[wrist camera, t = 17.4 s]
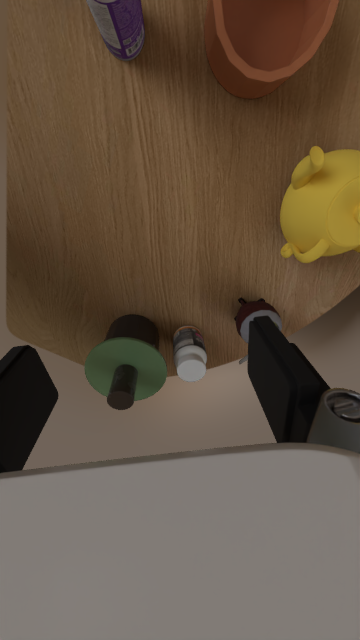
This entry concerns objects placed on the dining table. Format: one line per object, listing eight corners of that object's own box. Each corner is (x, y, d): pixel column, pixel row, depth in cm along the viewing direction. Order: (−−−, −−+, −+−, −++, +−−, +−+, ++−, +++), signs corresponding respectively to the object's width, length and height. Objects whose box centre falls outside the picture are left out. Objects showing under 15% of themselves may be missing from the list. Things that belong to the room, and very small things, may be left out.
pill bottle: (206, 341, 47) (215, 376, 39) (180, 352, 48) (183, 389, 40) (194, 319, 45) (201, 352, 36) (167, 331, 46) (167, 366, 37)
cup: (97, 332, 45) (83, 364, 37) (135, 304, 43) (128, 331, 35) (132, 363, 49) (125, 397, 41) (169, 339, 47) (169, 370, 39)
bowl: (183, 11, 26) (187, -32, 21) (281, -96, 23) (316, -179, 17) (236, 123, 31) (251, 110, 25) (323, 47, 28) (360, 15, 22)
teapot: (228, 210, 36) (252, 221, 26) (308, 107, 30) (377, 69, 20) (311, 284, 42) (355, 315, 32) (389, 210, 37) (471, 221, 27)
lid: (69, 363, 37) (51, 396, 31) (129, 319, 34) (122, 347, 28) (125, 406, 42) (118, 441, 37) (182, 372, 39) (185, 405, 33)
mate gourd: (274, 310, 45) (319, 362, 32) (239, 334, 47) (267, 392, 34) (253, 282, 42) (292, 327, 29) (217, 309, 44) (238, 363, 31)
